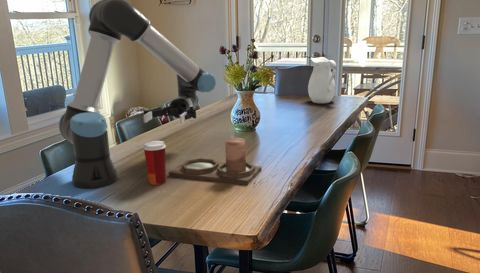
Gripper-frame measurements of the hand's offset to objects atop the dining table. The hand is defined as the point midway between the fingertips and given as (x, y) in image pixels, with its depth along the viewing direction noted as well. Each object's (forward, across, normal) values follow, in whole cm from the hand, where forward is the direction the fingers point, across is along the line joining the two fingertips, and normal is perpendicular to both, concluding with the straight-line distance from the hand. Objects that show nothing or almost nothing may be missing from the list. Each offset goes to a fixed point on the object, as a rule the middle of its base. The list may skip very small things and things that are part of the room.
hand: (162, 119), depth 159 cm
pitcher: (-135, -57, -21) cm, 148 cm away
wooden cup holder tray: (-1, -18, -20) cm, 27 cm away
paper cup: (+10, 0, -20) cm, 22 cm away
